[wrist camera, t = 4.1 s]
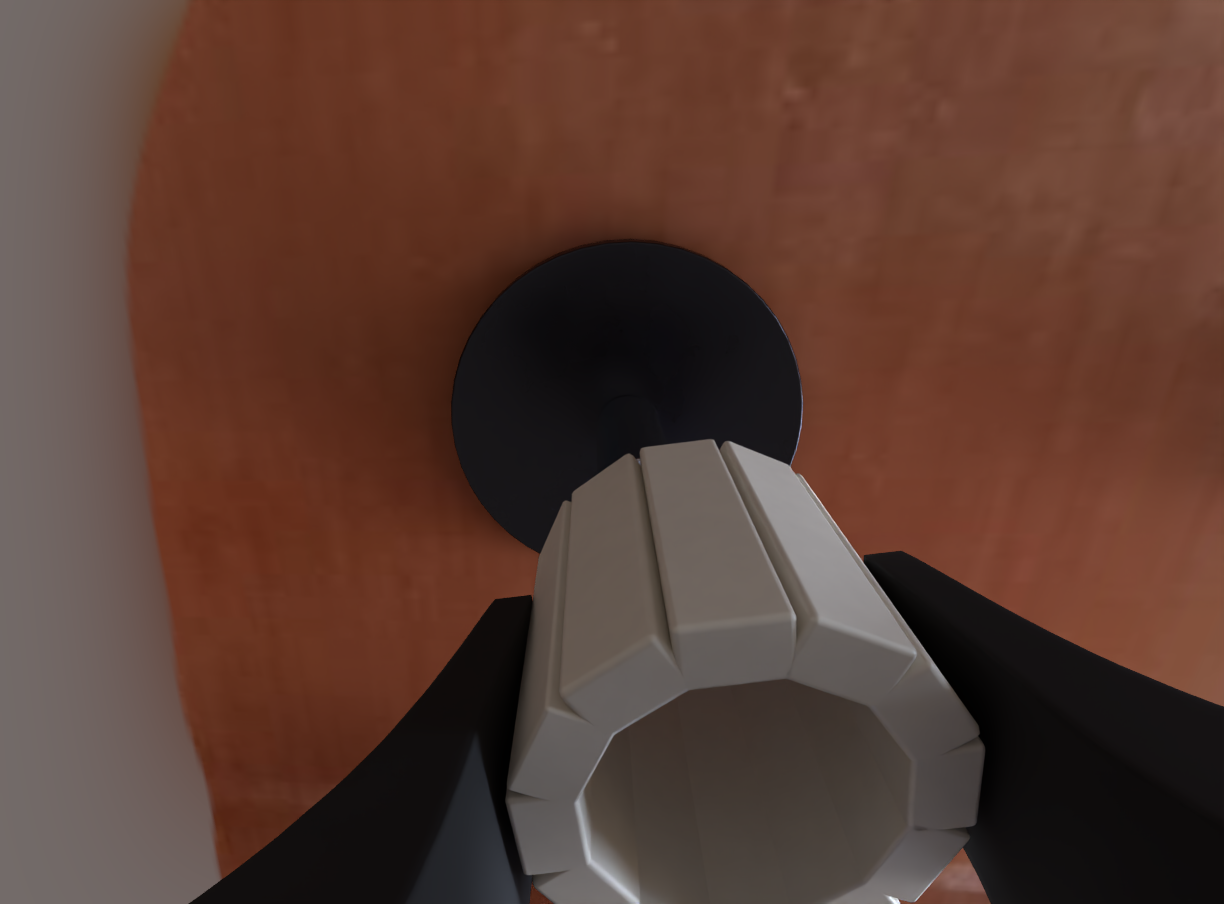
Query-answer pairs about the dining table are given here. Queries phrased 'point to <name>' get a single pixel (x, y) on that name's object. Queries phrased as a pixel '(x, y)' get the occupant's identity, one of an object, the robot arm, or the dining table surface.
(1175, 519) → the dining table surface
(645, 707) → the cream faceted cylinder
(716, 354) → the stand
